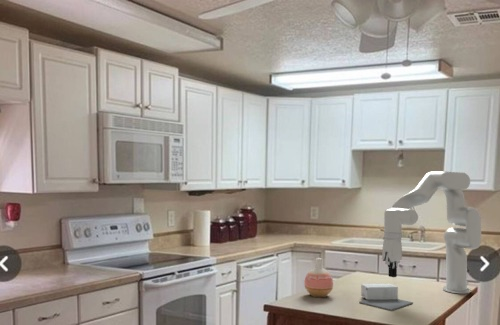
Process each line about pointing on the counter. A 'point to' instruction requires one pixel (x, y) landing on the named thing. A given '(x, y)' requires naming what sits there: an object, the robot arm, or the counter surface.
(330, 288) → the vase
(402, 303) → the mat
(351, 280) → the counter surface
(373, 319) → the counter surface
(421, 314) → the counter surface
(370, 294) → the skincare box
